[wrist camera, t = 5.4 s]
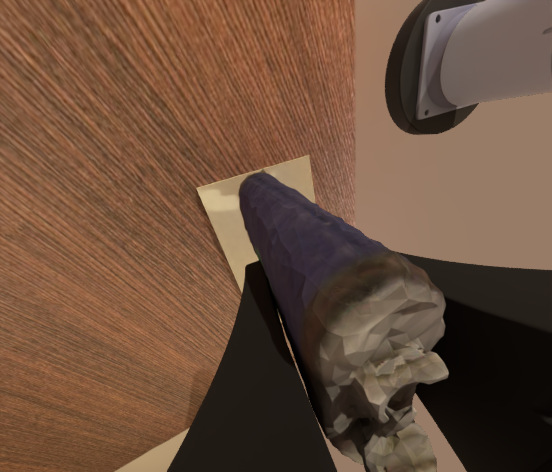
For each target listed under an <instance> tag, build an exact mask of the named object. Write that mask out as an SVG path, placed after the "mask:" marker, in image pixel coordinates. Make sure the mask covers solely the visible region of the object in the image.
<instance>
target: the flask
mask: <svg viewBox="0 0 552 472" xmlns="http://www.w3.org/2000/svg"><path fill="white" fill-rule="evenodd" d="M238 196H239V198H240V200H239V206H240V211H241V215H242V217H243V221H244V227H245V230H247V234H248V237H249V240H250V243H251V244H252V246H253V249H254V251H255V254H256V255H257V257H258V259H259V260H260V261H261V264H262V265H263V268H264V271H265V275H266V278H267V281H268V284H269V287H270V290H271V294H272V296H273V299H274V302H275V305H276V308H277V310H278V313H279V316H280V319H281V321H282V324H283V327H284V330H285V333H286V336H287V338H288V340H289V342H290V345H291V348H292V351H293V354H294V357H295V360H296V363H297V366H298V369H299V371H300V374H301V376H302V379H303V381H304V384H305V387H306V391H307V394H308V398H309V401H310V403H311V406H312V409H313V411H314V413H315V415H316V418H317V420H318V422H319V424H320V426H321V428H322V430H323V432H324V434H325V436H326V438H327V439H329V440H330V442H331V443H332V445H333V446H334V447H336V448H337V449H338V450H339V451H340V452H341V454H343V455H345V456H347V457H349V458H351V459H352V460H353V461H355V462H357V463H360V464H362V465H364V467H365V470H366V472H437V467H436V466H437V462H436V457H435V456H434V454H433V450H432V446H431V442H430V439H429V438H428V436H427V434H426V433H425V432H424V431H423V429H422V428H421V427H420V426H419V425H418V424H417V423H415V421H414V417H415V416H416V414H417V411H416V410H415V409H414V407H413V406H412V400H413V396H414V394H415V390H416V385H417V384H418V383H419V382H422V383H426V384H432V383H435V382H438V381H441V380H443V379H446V378H448V374H449V371H448V369H447V367H446V365H445V363H444V362H443V361H442V359H441V358H440V357H439V356H438V354H437V353H434V352H431V349H432V348H433V347H434V346H435V344H436V343H437V342H438V341H439V339H440V338H441V337H443V336H444V331H445V324H444V320H443V313H444V310H445V307H446V303H445V299H444V296H443V292H441V291H440V290H439V289H438V288H437V287H436V286H435V285H434V284H433V283H431V281H430V279H429V276H428V274H427V273H426V272H425V271H424V270H423V269H421V268H419V267H417V266H415V265H413V264H412V263H411V262H410V261H409V260H408V259H407V258H406V257H404V256H402V255H400V254H399V253H396V252H394V251H391V250H389V249H388V248H386V247H385V246H383V245H382V244H381V243H380V242H378V241H374V240H372V239H369V238H368V237H366V236H365V235H364V234H363V233H362V232H361V231H360V230H358V229H356V228H354V227H352V226H351V225H349V224H347V223H345V222H344V220H343V219H342V218H340V217H336V216H334V215H332V214H330V213H329V212H327V211H325V210H323V209H322V208H320V207H319V205H317V204H315V203H313V202H311V201H310V200H309V199H307V198H306V197H305V196H304V195H302V194H301V193H300V192H298V191H297V190H296V189H293V188H290V187H288V186H286V185H284V184H283V183H281V182H279V181H278V180H277V179H276V178H275V177H273V176H272V175H270V174H268V173H266V172H265V171H264V169H262V171H261V172H259V173H258V172H257V173H254V174H251V175H248V176H247V177H246V178H245V179H244V180H243V181H242V182H241V183H240V188H239V192H238Z"/></svg>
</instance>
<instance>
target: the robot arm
mask: <svg viewBox="0 0 552 472" xmlns="http://www.w3.org/2000/svg"><path fill="white" fill-rule="evenodd" d="M549 92H552V0H485V1H483V2H480V3H475V4H470V5H465V6H461V7H456V8H451V9H446V10H442V11H437V12H433V13H431V14H430V15H428V16H427V17H426V20H425V24H424V34H423V44H422V54H421V64H420V74H419V84H418V95H417V105H416V115H415V116H416V119H417V120H421V119H425V118H428V117H432V116H435V115H438V114H442V113H445V112H449V111H452V110H456V109H459V108H463V107H466V106H469V105H473V104H476V103H481V102H487V101H495V100H502V99H508V98H515V97H522V96H529V95H536V94H543V93H549ZM394 252H395V251H394ZM396 253H399V252H396ZM399 254H400V255H402V256H404V257H406V258H407V259H408V260H409V261H410V262H411V263H412V264H413V265H415V266H417V267H419V268H421V269H423V270H424V271H425V272H426V273H427V274H428V276H429V279H430V281H431V283H433V284H434V285H435V286H436V287H437V288H438V289H439V290H440V291H441V292H443V296H444V299H445V303H446V307H445V310H444V313H443V320H444V324H445V331H444V336H443V337H441V338H440V339H439V341H438V342H437V343H436V344H435V346H434V347H433V348H432V349H431V352H434V353H437V354H438V356H439V357H440V358H441V359H442V361H443V362H444V363H445V365H446V367H447V369H448V371H449V374H448V378H446V379H443V380H441V381H438V382H435V383H432V384H426V383H422V382H419V383H418V384H417V385H416V390H415V393H416V394H417V396H418V397H419V399H420V400H421V402H422V403H423V404H424V406H425V407H426V409H427V410H428V412H429V413H430V415H431V416H432V418H433V419H434V421H435V422H436V424H437V425H438V427H439V429H440V430H441V432H442V433H443V435H444V436H445V438H446V439H447V441H448V443H449V444H450V446H451V447H452V449H453V450H454V452H455V453H456V455H457V456H458V458H459V460H460V461H461V463H462V464H463V466H464V468H465V469H466V471H467V472H552V270H537V269H521V268H506V267H493V266H483V265H474V264H464V263H456V262H449V261H442V260H436V259H430V258H424V257H418V256H413V255H408V254H403V253H399ZM167 472H337V470H336V467H335V465H334V462H333V460H332V457H331V455H330V452H329V450H328V447H327V445H326V442H325V440H324V437H323V435H322V432H321V430H320V427H319V424H318V422H317V419H316V417H315V414H314V412H313V409H312V407H311V404H310V402H309V399H308V396H307V394H306V391H305V389H304V386H303V384H302V381H301V379H300V376H299V373H298V371H297V368H296V366H295V363H294V361H293V358H292V356H291V353H290V350H289V348H288V345H287V343H286V339H285V336H284V332H283V328H282V325H281V321H280V318H279V314H278V311H277V308H276V305H275V302H274V299H273V296H272V294H271V290H270V287H269V284H268V281H267V278H266V275H265V271H264V268H263V265H262V264H261V261H260V260H258V261H256V262H253V263H250V264H247V265H246V267H245V279H244V286H243V292H242V297H241V302H240V306H239V309H238V313H237V317H236V321H235V324H234V327H233V330H232V333H231V336H230V339H229V342H228V344H227V347H226V350H225V353H224V355H223V357H222V360H221V362H220V365H219V367H218V370H217V372H216V374H215V377H214V379H213V381H212V383H211V386H210V388H209V390H208V392H207V394H206V396H205V398H204V400H203V402H202V404H201V406H200V408H199V410H198V412H197V414H196V417H195V419H194V421H193V423H192V425H191V427H190V429H189V431H188V433H187V435H186V437H185V439H184V441H183V443H182V445H181V446H180V448H179V450H178V452H177V454H176V456H175V457H174V459H173V461H172V463H171V465H170V466H169V468H168V470H167Z"/></svg>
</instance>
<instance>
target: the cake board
mask: <svg viewBox="0 0 552 472" xmlns="http://www.w3.org/2000/svg"><path fill="white" fill-rule="evenodd" d="M262 169H264V171H265V172H266V173H268V174H270V175H272V176H273V177H275V178H276V179H277V180H278V181H279V182H281V183H283V184H284V185H286V186H288V187H290V188H293V189H296V190H297V191H298V192H300V193H301V194H302V195H304V196H305V197H306V198H307V199H309V200H310V201H311V202H313V203H315V196H314V189H313V182H312V175H311V167H310V160H309V155H307V156H303V157H300V158H296V159H293V160H290V161H286V162H283V163H279V164H276V165H272V166H269V167H266V168H262ZM262 169H259V170H255V171H252V172H248V173H245V174H242V175H238V176H235V177H231V178H228V179H224V180H221V181H218V182H214V183H211V184H207V185H204V186H200V187H197V188H196V189H197V191H198V194H199V196H200V198H201V200H202V203H203V205H204V207H205V210H206V212H207V214H208V217H209V219H210V221H211V224H212V226H213V228H214V230H215V233H216V235H217V237H218V240H219V242H220V244H221V247H222V249H223V251H224V253H225V256H226V258H227V260H228V263H229V265H230V267H231V270H232V272H233V274H234V276H235V279H236V281H237V283H238V286H239V288H240V290H241V293H242V292H243V286H244V279H245V267H246V265H247V264H250V263H253V262H256V261H258V260H259V259H258V257H257V255H256V254H255V251H254V249H253V246H252V244H251V243H250V240H249V237H248V234H247V230H245V227H244V221H243V217H242V215H241V211H240V206H239V200H240V198H239V196H238V192H239V188H240V183H241V182H242V181H243V180H244V179H245V178H246V177H247V176H248V175H251V174H254V173H257V172H258V173H259V172H261V171H262ZM315 204H316V203H315ZM277 311H278V310H277ZM278 314H279V313H278ZM279 318H280V316H279ZM280 321H281V319H280ZM281 323H282V321H281Z"/></svg>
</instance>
